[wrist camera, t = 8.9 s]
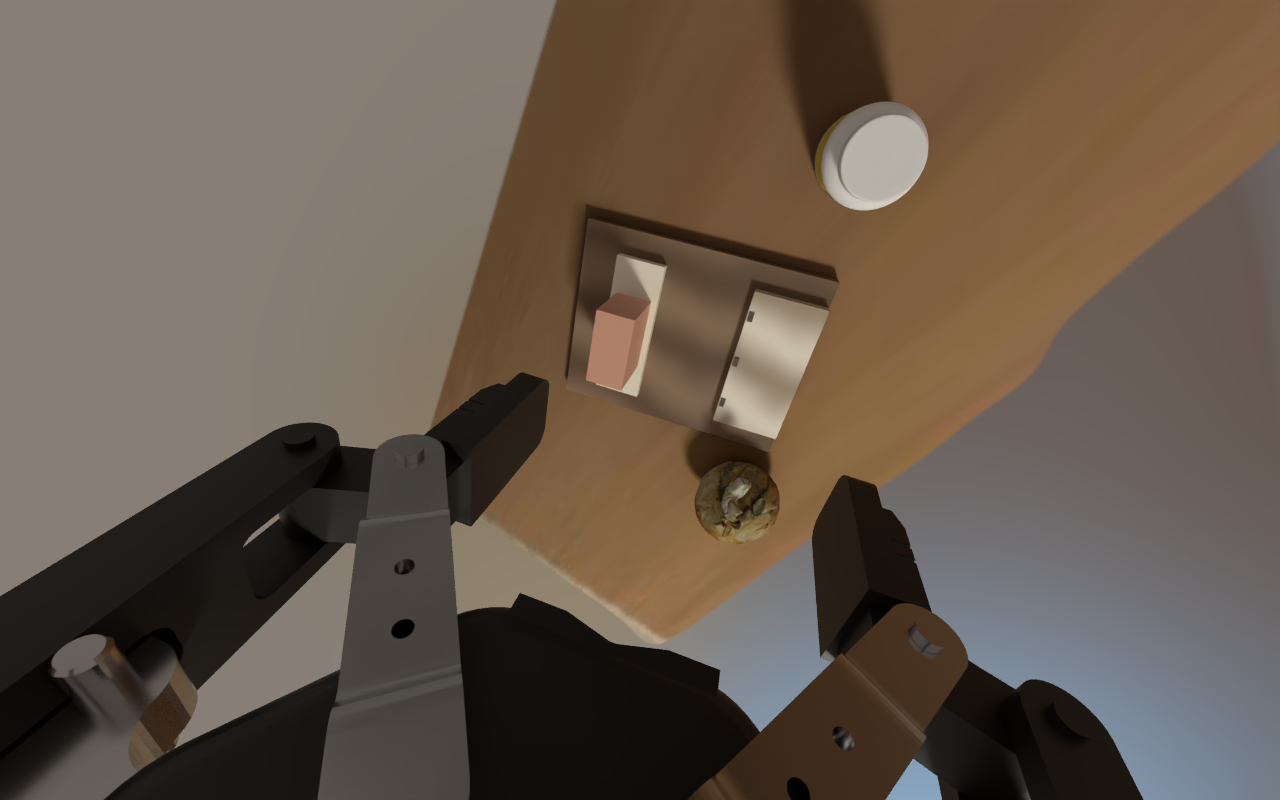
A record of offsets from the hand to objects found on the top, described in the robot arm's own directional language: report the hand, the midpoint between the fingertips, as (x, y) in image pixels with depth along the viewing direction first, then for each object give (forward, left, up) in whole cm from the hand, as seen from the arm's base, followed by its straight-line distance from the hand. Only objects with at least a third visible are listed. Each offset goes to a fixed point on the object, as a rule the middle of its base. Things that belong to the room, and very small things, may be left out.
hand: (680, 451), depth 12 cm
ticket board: (+8, -3, -28) cm, 29 cm away
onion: (+21, +6, -28) cm, 35 cm away
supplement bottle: (-8, +5, -28) cm, 30 cm away
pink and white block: (+8, -8, -27) cm, 29 cm away
